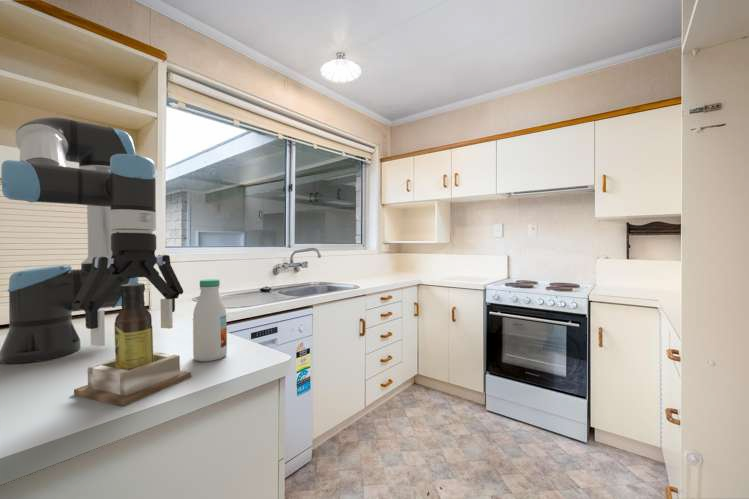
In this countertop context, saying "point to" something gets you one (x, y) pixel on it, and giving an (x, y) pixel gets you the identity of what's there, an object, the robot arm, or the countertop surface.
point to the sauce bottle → (133, 329)
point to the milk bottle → (209, 323)
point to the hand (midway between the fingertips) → (135, 335)
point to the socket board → (131, 380)
